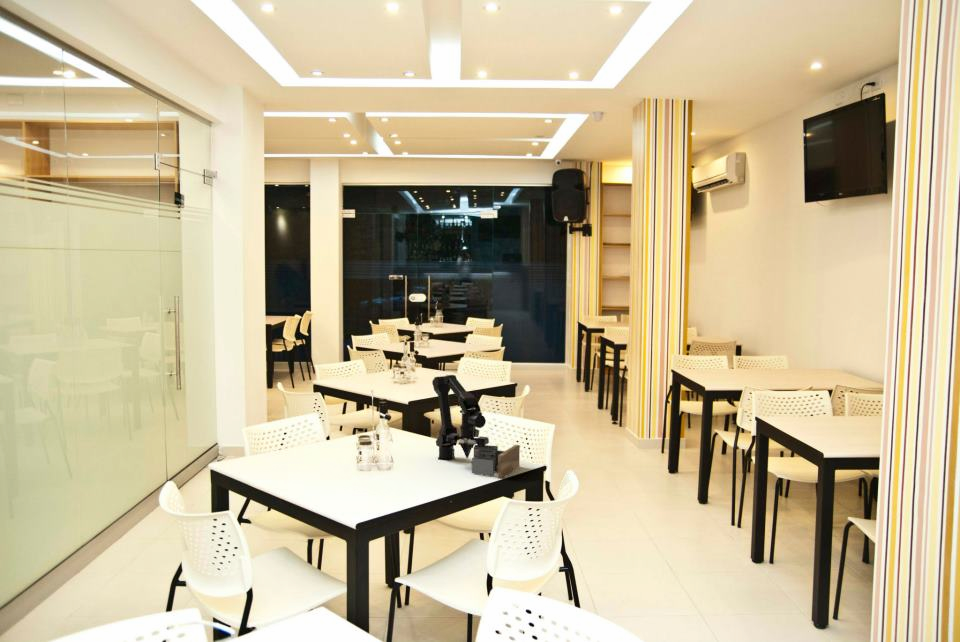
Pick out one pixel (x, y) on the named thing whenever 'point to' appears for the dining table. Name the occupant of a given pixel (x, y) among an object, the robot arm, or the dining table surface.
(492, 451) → the small box
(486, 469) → the bookend
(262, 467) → the dining table surface
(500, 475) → the shelf panel
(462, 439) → the robot arm
